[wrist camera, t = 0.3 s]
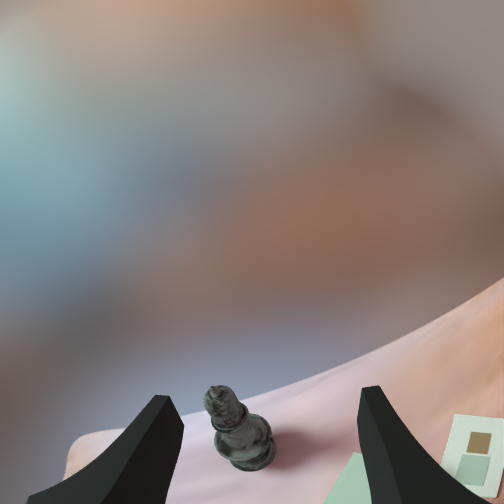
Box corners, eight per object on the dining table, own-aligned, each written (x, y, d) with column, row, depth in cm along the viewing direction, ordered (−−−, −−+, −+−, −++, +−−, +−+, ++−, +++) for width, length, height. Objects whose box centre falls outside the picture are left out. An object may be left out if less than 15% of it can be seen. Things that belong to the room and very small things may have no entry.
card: (494, 498, 13) (496, 496, 13) (430, 491, 17) (431, 490, 17) (510, 420, 19) (511, 418, 19) (454, 415, 23) (455, 413, 23)
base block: (388, 546, 14) (393, 541, 13) (318, 524, 19) (313, 516, 17) (419, 483, 19) (427, 469, 17) (354, 466, 23) (354, 451, 22)
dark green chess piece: (284, 431, 30) (254, 361, 25) (271, 477, 25) (233, 419, 20) (234, 427, 32) (194, 359, 27) (218, 469, 27) (166, 409, 22)
